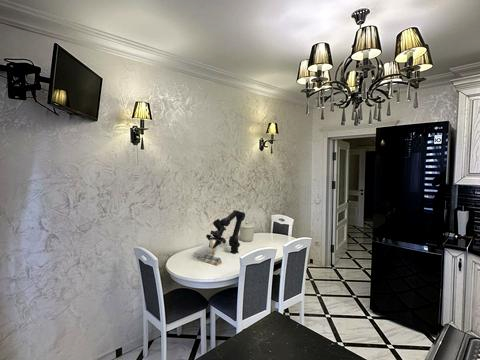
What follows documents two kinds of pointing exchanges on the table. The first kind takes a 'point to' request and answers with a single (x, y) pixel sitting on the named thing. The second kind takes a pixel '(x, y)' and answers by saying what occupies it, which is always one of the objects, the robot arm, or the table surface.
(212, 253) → the maple post
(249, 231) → the canister
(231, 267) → the table surface
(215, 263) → the ridge rail
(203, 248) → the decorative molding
